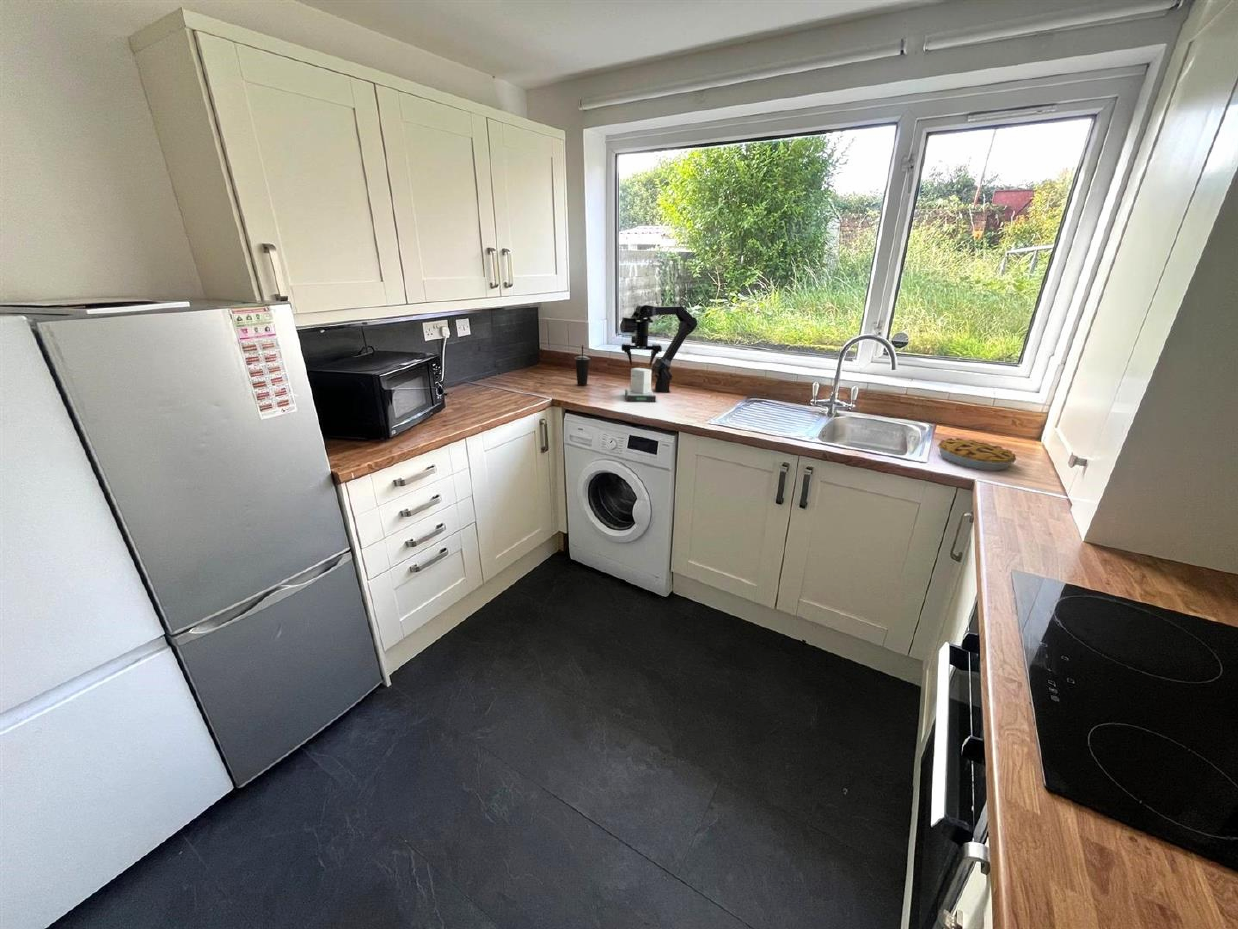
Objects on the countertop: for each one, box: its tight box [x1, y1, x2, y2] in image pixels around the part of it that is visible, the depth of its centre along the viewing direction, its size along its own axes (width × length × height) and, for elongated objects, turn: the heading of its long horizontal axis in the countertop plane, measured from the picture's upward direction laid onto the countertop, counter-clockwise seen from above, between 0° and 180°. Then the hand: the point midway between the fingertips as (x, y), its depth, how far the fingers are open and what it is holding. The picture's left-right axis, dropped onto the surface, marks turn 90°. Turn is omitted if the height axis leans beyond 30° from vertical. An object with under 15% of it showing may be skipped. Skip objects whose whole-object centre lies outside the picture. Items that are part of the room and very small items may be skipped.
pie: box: [937, 437, 1017, 472], centre depth 166 cm, size 22×22×5 cm
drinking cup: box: [574, 344, 591, 387], centre depth 251 cm, size 8×8×20 cm
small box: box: [630, 367, 653, 394], centre depth 230 cm, size 8×6×10 cm
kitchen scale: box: [624, 388, 657, 403], centre depth 232 cm, size 13×13×3 cm
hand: (640, 365), depth 239 cm, fingers open, 9 cm apart
